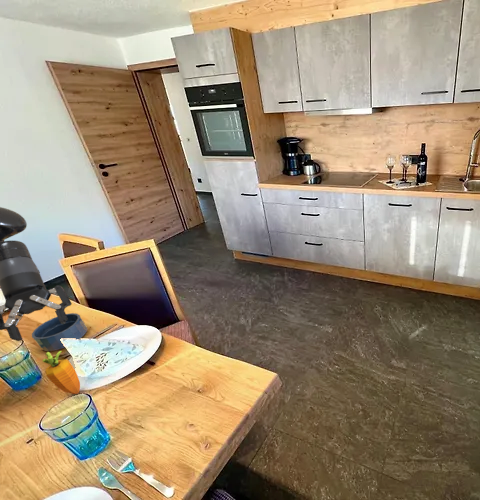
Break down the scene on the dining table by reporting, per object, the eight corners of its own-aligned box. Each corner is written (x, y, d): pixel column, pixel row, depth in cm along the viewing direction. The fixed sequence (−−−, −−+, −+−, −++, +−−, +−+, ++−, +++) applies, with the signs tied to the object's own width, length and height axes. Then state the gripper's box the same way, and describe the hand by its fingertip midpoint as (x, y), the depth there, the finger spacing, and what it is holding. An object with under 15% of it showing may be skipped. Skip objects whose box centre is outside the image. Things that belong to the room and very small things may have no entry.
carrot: (69, 390, 80) (38, 351, 73) (91, 382, 82) (63, 344, 75) (63, 404, 76) (30, 365, 69) (86, 396, 78) (56, 357, 71)
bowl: (35, 357, 91) (24, 344, 88) (49, 333, 101) (40, 320, 98) (82, 343, 96) (73, 330, 93) (92, 321, 105) (84, 309, 102)
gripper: (-29, 284, 70) (-6, 344, 68) (49, 262, 78) (72, 315, 76) (-11, 293, 76) (10, 348, 74) (59, 272, 84) (81, 320, 82)
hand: (41, 331), depth 75 cm, fingers open, 8 cm apart
